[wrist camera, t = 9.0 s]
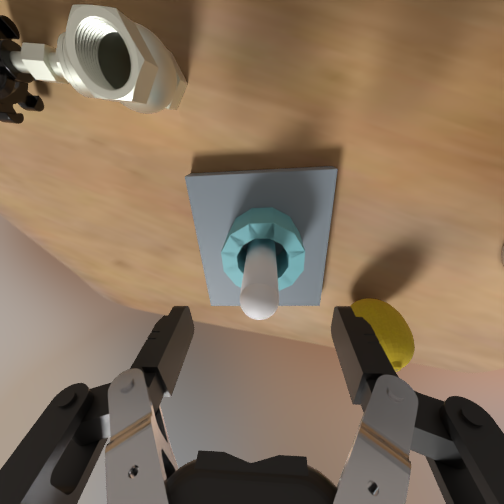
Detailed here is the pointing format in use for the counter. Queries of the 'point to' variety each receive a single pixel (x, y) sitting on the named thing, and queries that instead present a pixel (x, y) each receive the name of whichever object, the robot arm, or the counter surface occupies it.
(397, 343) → the lemon
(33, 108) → the valve
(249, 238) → the collar
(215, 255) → the post stand
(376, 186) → the counter surface
